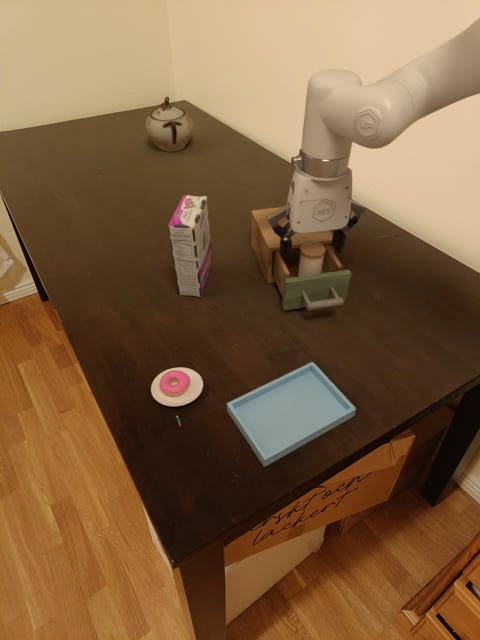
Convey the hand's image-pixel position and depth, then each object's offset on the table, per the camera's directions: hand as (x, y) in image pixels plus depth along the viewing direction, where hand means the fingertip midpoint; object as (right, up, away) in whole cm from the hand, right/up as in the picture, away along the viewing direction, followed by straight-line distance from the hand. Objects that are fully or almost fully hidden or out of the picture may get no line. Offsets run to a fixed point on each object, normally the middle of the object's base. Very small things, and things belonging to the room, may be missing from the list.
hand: (311, 252), depth 79 cm
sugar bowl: (-35, +44, +60) cm, 82 cm away
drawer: (0, -7, +6) cm, 9 cm away
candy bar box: (-22, -4, +11) cm, 25 cm away
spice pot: (0, -6, +6) cm, 8 cm away
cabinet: (-2, +1, +16) cm, 16 cm away
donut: (-23, -25, -10) cm, 35 cm away
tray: (-5, -27, -13) cm, 30 cm away
